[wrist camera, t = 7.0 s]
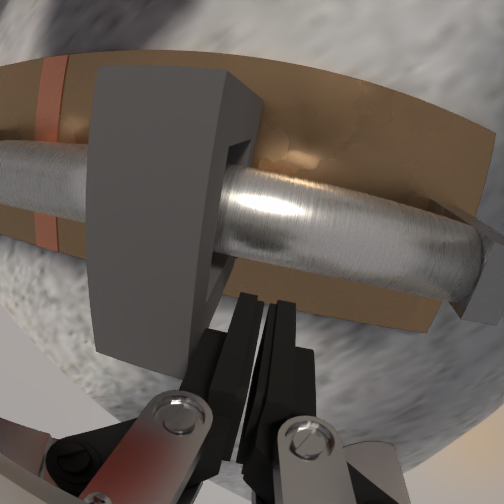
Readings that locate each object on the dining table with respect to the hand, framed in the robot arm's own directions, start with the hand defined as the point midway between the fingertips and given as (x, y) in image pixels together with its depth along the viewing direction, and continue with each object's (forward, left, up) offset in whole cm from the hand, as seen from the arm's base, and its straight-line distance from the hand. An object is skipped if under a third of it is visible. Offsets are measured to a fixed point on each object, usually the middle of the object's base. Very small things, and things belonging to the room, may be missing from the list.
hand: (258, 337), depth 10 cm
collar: (+3, -3, -6) cm, 8 cm away
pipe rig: (+6, -3, -7) cm, 10 cm away
